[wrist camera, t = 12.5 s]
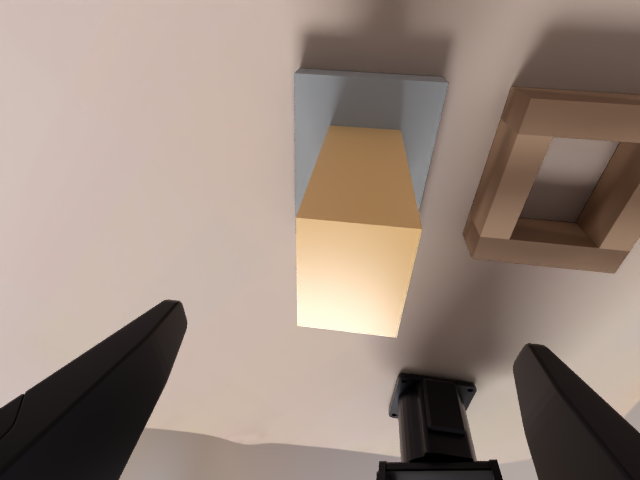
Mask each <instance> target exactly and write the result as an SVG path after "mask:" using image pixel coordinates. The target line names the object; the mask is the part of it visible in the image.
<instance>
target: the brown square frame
mask: <svg viewBox="0 0 640 480" xmlns="http://www.w3.org/2000/svg"><path fill="white" fill-rule="evenodd" d="M553 137H563V138H577V139H590V140H604V141H618V142H620V143H619V145H618V147H617V149H616V151H615V153H614V154H613V156H612V158H611V160H610V162H609V164H608V165H607V167H606V169H605V171H604V173H603V175H602V176H601V178H600V180H599V182H598V184H597V185H596V187H595V189H594V191H593V193H592V195H591V196H590V198H589V200H588V202H587V204H586V206H585V207H584V209H583V211H582V213H581V215H580V217H579V218H578V220H577V222H576V223H569V222H558V221H547V220H536V219H526V218H519V216H520V213H521V211H522V209H523V206H524V204H525V202H526V199H527V197H528V195H529V192H530V190H531V188H532V185H533V183H534V181H535V178H536V176H537V174H538V171H539V169H540V167H541V164H542V162H543V160H544V157H545V155H546V153H547V151H548V148H549V146H550V144H551V141H552V139H553ZM463 236H464V239H465V242H466V244H467V247H468V249H469V252H470V255H471V257H472V259H480V260H490V261H499V262H509V263H518V264H528V265H538V266H547V267H557V268H567V269H576V270H586V271H595V272H605V273H615V272H616V271H617V269H618V268H619V266H620V265H621V263H622V262H623V261H624V259H625V258H626V256H627V255H628V253H629V252H630V250H631V249H632V248H633V246H634V245H635V243H636V242H637V240H638V239H639V237H640V95H638V94H622V93H605V92H589V91H573V90H556V89H540V88H524V87H511V89H510V92H509V95H508V98H507V101H506V104H505V107H504V111H503V114H502V117H501V120H500V123H499V126H498V129H497V132H496V135H495V138H494V141H493V144H492V147H491V150H490V153H489V156H488V159H487V162H486V165H485V168H484V171H483V174H482V177H481V180H480V183H479V186H478V189H477V192H476V195H475V198H474V201H473V204H472V207H471V210H470V213H469V216H468V219H467V222H466V226H465V229H464V232H463Z"/></svg>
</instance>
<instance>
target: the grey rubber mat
mask: <svg viewBox="0 0 640 480" xmlns="http://www.w3.org/2000/svg"><path fill="white" fill-rule="evenodd" d="M448 84H449V82H448V81H447V80H446V79H445V78H444V77H436V76H420V75H403V74H386V73H369V72H353V71H336V70H319V69H302V68H300V69H299V70H298V71H296V72H295V73H294V97H295V230H296V216H297V213H298V210H299V208H300V205H301V202H302V199H303V197H304V194H305V191H306V189H307V186H308V183H309V180H310V178H311V175H312V172H313V169H314V167H315V164H316V161H317V159H318V156H319V153H320V150H321V148H322V145H323V142H324V139H325V137H326V134H327V131H328V129H329V126H330V125H331V126H346V127H361V128H376V129H391V130H401V133H402V138H403V142H404V147H405V152H406V156H407V161H408V166H409V170H410V175H411V180H412V184H413V189H414V193H415V198H416V203H417V207H418V212H419V209H420V205H421V200H422V196H423V192H424V187H425V183H426V179H427V174H428V170H429V166H430V161H431V157H432V153H433V148H434V144H435V140H436V136H437V131H438V127H439V123H440V118H441V114H442V110H443V105H444V101H445V97H446V92H447V88H448Z"/></svg>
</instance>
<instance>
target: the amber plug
mask: <svg viewBox="0 0 640 480" xmlns="http://www.w3.org/2000/svg"><path fill="white" fill-rule="evenodd" d="M421 232H422V226H421V221H420V217H419V212H418V207H417V203H416V198H415V193H414V189H413V184H412V180H411V175H410V170H409V166H408V161H407V156H406V152H405V147H404V142H403V138H402V133H401V130H391V129H376V128H361V127H346V126H331V125H330V126H329V129H328V131H327V134H326V137H325V139H324V142H323V145H322V148H321V150H320V153H319V156H318V159H317V161H316V164H315V167H314V169H313V172H312V175H311V178H310V180H309V183H308V186H307V189H306V191H305V194H304V197H303V199H302V202H301V205H300V208H299V210H298V213H297V216H296V263H297V326H304V327H313V328H321V329H329V330H337V331H346V332H354V333H362V334H370V335H379V336H387V337H395V338H397V333H398V329H399V325H400V321H401V316H402V312H403V308H404V304H405V300H406V295H407V291H408V287H409V283H410V279H411V274H412V270H413V266H414V262H415V257H416V253H417V249H418V245H419V241H420V236H421Z"/></svg>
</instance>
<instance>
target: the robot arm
mask: <svg viewBox="0 0 640 480" xmlns="http://www.w3.org/2000/svg"><path fill="white" fill-rule="evenodd" d="M186 329H187V319H186V315H185V312H184V308H183V305H182V303H181V302H180V301H176V300H164V301H162V302H161V303H159V304H158V305H156V306H155V307H153V308H152V309H150V310H149V311H147V312H146V313H144V314H143V315H141V316H140V317H138V318H137V319H135V320H134V321H132V322H131V323H129V324H127V325H126V326H124V327H123V328H121V329H120V330H118V331H117V332H115V333H114V334H112V335H111V336H109V337H108V338H106V339H105V340H103V341H102V342H100V343H99V344H97V345H96V346H94V347H93V348H91V349H90V350H88V351H87V352H85V353H84V354H82V355H81V356H79V357H78V358H76V359H75V360H73V361H71V362H70V363H68V364H67V365H65V366H64V367H62V368H61V369H59V370H58V371H56V372H55V373H53V374H52V375H50V376H49V377H47V378H46V379H44V380H43V381H41V382H40V383H38V384H37V385H35V386H34V387H32V388H31V389H29V390H28V391H26V393H25V394H21V395H20V396H18V397H17V398H15V399H14V400H12V401H11V402H9V403H8V404H6V405H5V406H3V407H2V408H0V480H119V478H120V476H121V474H122V472H123V470H124V468H125V466H126V464H127V462H128V460H129V458H130V455H131V454H132V452H133V450H134V448H135V446H136V444H137V442H138V440H139V438H140V435H141V434H142V432H143V430H144V428H145V426H146V423H147V421H148V419H149V417H150V415H151V413H152V411H153V409H154V407H155V405H156V403H157V401H158V399H159V397H160V395H161V393H162V391H163V389H164V387H165V385H166V383H167V380H168V378H169V375H170V373H171V370H172V367H173V364H174V362H175V359H176V356H177V354H178V351H179V348H180V345H181V343H182V340H183V337H184V335H185V332H186ZM513 373H514V379H515V384H516V389H517V395H518V400H519V406H520V411H521V416H522V422H523V427H524V431H525V435H526V439H527V443H528V446H529V449H530V453H531V456H532V459H533V463H534V466H535V469H536V473H537V476H538V480H640V433H639V432H638V431H637V430H636V429H635V428H634V427H633V426H631V425H630V424H629V423H628V422H627V421H626V420H625V419H624V418H623V417H622V416H621V415H620V414H619V413H617V412H616V411H615V410H614V409H613V408H612V407H611V406H610V405H609V404H608V403H607V402H606V401H605V400H603V399H602V398H601V397H600V396H599V395H598V394H597V393H596V392H595V391H594V390H593V389H592V388H591V387H589V386H588V385H587V384H586V383H585V382H584V381H583V380H582V379H581V378H580V377H579V376H578V375H577V374H575V373H574V372H573V371H572V370H571V369H570V368H569V367H568V366H567V365H566V364H565V363H564V362H562V361H561V360H560V359H559V358H558V357H557V356H556V355H555V354H554V353H553V352H552V351H551V350H550V349H548V348H547V347H546V346H544V345H539V344H530V343H528V344H526V345H524V347H523V348H522V350H521V352H520V353H519V355H518V357H517V359H516V360H515V362H514V365H513ZM475 393H476V386H475V384H473V383H469V382H462V381H454V380H447V379H440V378H432V377H425V376H417V375H410V374H400V375H399V376H398V379H397V383H396V386H395V390H394V393H393V397H392V401H391V404H390V408H389V416H390V417H392V418H398V419H399V435H400V452H401V462H386V461H380V462H379V471H378V472H377V479H376V480H503V479H502V475H501V472H500V469H499V465H498V462H497V459H496V460H489V461H477V459H476V455H475V450H474V446H473V442H472V437H471V433H470V428H469V424H468V419H467V415H466V410H467V408H468V406H469V404H470V402H471V400H472V398H473V396H474V395H475Z"/></svg>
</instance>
